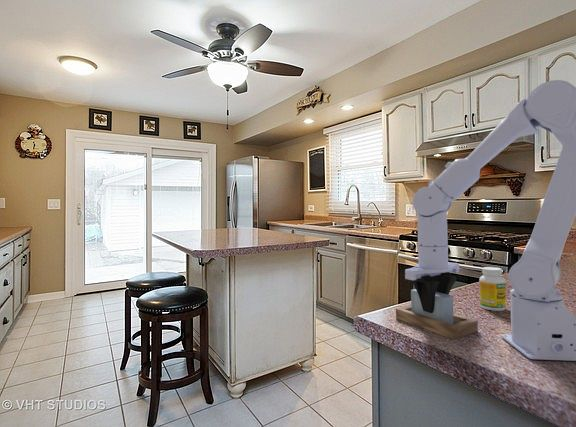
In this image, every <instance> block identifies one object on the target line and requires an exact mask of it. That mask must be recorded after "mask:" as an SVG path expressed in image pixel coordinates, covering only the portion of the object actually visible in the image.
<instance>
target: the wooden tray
mask: <svg viewBox="0 0 576 427" xmlns="http://www.w3.org/2000/svg"><path fill="white" fill-rule="evenodd" d="M453 314H454V324H449V323H445V322H442V321H439V320H436V319H433V318H430V317H427V316H424V315H421V314H417V313H414V312H411V305H405V306H402V307H398V308H395V319H397V320H398V321H402V322H405V323H408V324H411V325H413V326H415V327H419V328H421V329H424V330H427V331H429V332H432V333H435V334H438V335H440V336H444V337H446V338H449V339H452V340H456V339H459V338H462V337H466V336H469V335H472V334H475V333H478V331H479V326H478V324H479V320H477V319H474V318H470V317H467V316H463V315H460V314H456V313H453Z"/></svg>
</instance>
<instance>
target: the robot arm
mask: <svg viewBox="0 0 576 427" xmlns="http://www.w3.org/2000/svg"><path fill="white" fill-rule="evenodd" d="M537 127H539V128H542V129H543V130H544V131H547V132H549V133H550V134H553V136H554V137H555V139H556V140H558V142H559V143H560V144H561V146H562V147H561V148H562V149H561V151H560V153H559V155H558V159H557V162H556V165H555V168H554V169H553V170H554V171H553V173H552V175H551V178H550V181H549V184H548V186H547V187H548V188H547V190H546V194H545V195H544V199H543V202H542V205H541V207H540V210H539V213H538V215H537V219H536V220H535V221H536V222H535V224H534V227H533V230H532V233H531V235H530V237H529V240H528V241H527V244H526V245H525V248H524V250H523V253H522V255H521V257H520V259H519V260H518V261H517V262H516V263H514V264H513V265H512V266H511V267H510V269H509V271H508V273H507V274H508V275H507V277H508V282H509V285H510V287H512V288H511V289H510V290H509V291H510V294H509V295H510V333H511V334H509V333H508V334H507V333H506V334H505V333H503V334H501V335H500V337H501V338H502V339H503V340H504V341H506V342H507V343H508V344H509V345H511V346H512V347H514V348H515V349H516V350H517V351H519V352H520V353H521V354H523V356H525V357H526V358H528V359H530V360H542V361H543V360H547V361H548V360H549V361H567V362H569V361H571V362H576V315H575V314H574V313H573V312H572V311H571V310H570V309H569V308H568V307H566V305H565V304H564V299H563V296H564V295H563V293H561V291H559V289H558V288H557V287H556V285H557V284H558V283H559V281H560V280H561V277H562V270H561V267H560V260H561V257H562V254H563V251H564V247H565V244H566V241H567V240H568V237H569V234H570V231H571V229H572V226H573V223H574V220H575V217H576V86H575V85H573V84H572V83H570V82H569V81H567V80H562V79H552V80H548V81H546V82H543V83H540V84H539V85H538V86H536V87H535V88H534V89H533V90H532V91H531V92H530V93H529V95H528V97H527V98H526V97H524V98H523V99H522V100H520V101H519V102H518V103H516V104H515V106H514V107H513V108H512V110H510V112H508V113H507V115H506V116H504V118H503V119H502V120H501V121H500V122H499V124H497V126H496V127H495V128H493V129H492V131H490V132H489V133H488V135H486V137H485V138H484V139H483V140H482V141H481V142H480V143H479V144H478V145H477V146H476V147H475V148H474V149H473V151H472V152H470V153H469V155H468V156H467V157H465V158H464V157H463V158H456V159H454V161H448V162H447V163H446V164H445V165H444V167H445V169H444V170H443V171H442V172H441V173H440V174H439V175H438V176H437V177H436V178H435V179H434V180H429V182H428V183H427V185H428V186H423V187H421V188H419V189H417V191H416V193H415V194H414V195H413V199H412V207H413V208H414V211H415V212H416V213H417V252H418V253H417V257H418V258H417V260H418V261H417V262H418V263H416V264H414V266H413V267H411V268H406V269H405V270H404V273H405V274H404V279H405V280H409V281H411V284H413V287H414V288H415V289H416V290H417V293H418V295H419V298H420V301H421V305H422V309H423V311H426V312H429V313H433V311H434V305H435V294H436V292H439V293H444V294H448V295H450V293H451V290H452V287H453V286H454V284H455V282H456V281H457V276H456V275H452V273H454V274H455V273H456V274H458V273H460V263H457V262H449V246H448V245H449V243H448V242H449V241H448V237H449V236H448V214H447V213H448V212H449V211H450V209H451V208H452V203H453V202H456V200H457V199H459V198H460V197H461V196H462V195H463V194H464V193H465V192H466V191H467V190H469V188H471V187H473V185H474V184H476V183H477V182H478V181H479V180H480V176H481V175H480V173H481V169H482V168H484V166H486V165H487V164H488V163H489V162H490V161H492V159H494V158H496V156H498V155H499V154H500V153H501V152H503V151H505V149H506V148H507V147H509V146H510V145H511V144H512V143H513V142H514V141H516V140H517V139H518V138H523V137H527V136H531V135H535V134H539V133H540V132H539V131H538V129H537Z"/></svg>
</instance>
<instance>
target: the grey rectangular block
mask: <svg viewBox="0 0 576 427" xmlns="http://www.w3.org/2000/svg"><path fill="white" fill-rule="evenodd" d="M410 304H411V312H414V313H417V314H421V315H424V316H427V317H430V318H433V319H436V320H439V321H442V322H445V323H449V324H454V314H455V313H454V295H452V294H449V295H448V294H444V293H439V292H436V294H435V305H434V311H433V313H429V312H426V311H423V309H422V305H421V301H420V298H419V295H418V293H417V290H416V288H415V289H414V288H413V289H410Z"/></svg>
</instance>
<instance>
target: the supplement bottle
mask: <svg viewBox="0 0 576 427" xmlns="http://www.w3.org/2000/svg"><path fill="white" fill-rule="evenodd" d="M481 272H482V274H483V275H481V276H480V277H479V280H478V281H479V306H480V307H481V308H482V309H484V310H488V311H493V312H495V311H496V312H501V311H505V310H506V309H507V295H506V294H507V293H506V291H507V290H506V289H507V287H506V286H507V285H506V279H505V278H504V277H503V276H502V274H503V268H500V267H496V266H495V267H494V266H485V267H484V266H483V267H482V271H481Z"/></svg>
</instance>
